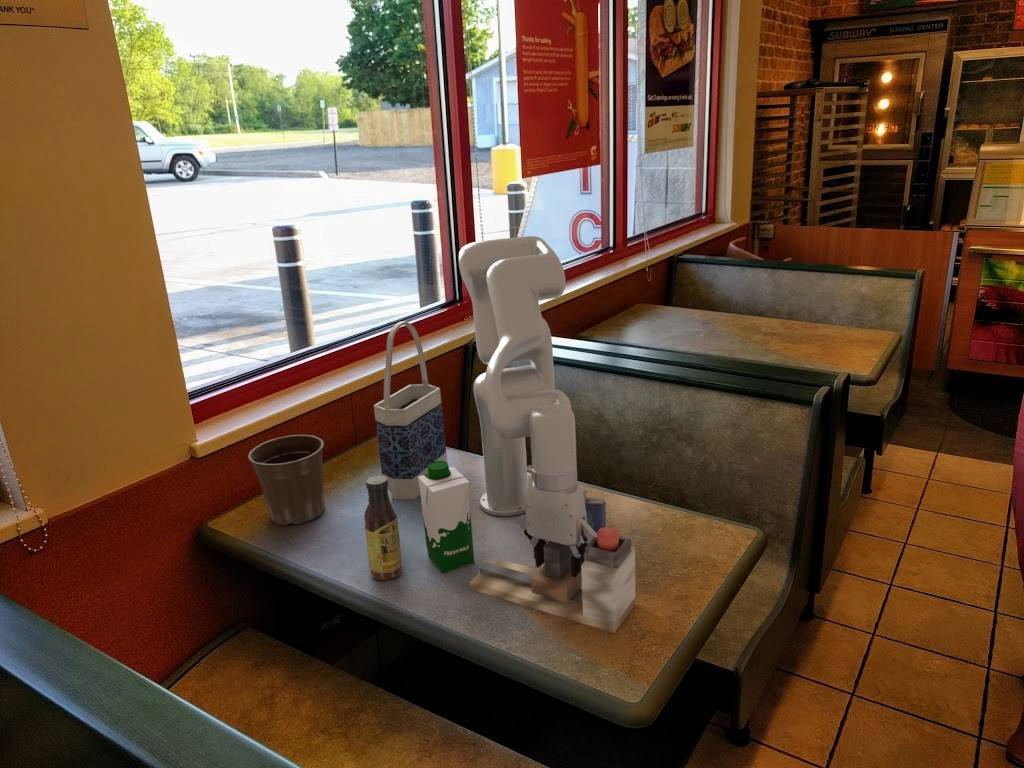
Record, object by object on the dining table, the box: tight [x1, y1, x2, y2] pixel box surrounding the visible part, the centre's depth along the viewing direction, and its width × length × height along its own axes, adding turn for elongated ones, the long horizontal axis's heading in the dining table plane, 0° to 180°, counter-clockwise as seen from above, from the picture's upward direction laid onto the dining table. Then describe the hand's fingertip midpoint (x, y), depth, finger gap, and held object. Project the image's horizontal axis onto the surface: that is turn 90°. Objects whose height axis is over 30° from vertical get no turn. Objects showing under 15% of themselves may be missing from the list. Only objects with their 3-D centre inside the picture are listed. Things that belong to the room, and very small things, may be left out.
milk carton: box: [418, 461, 475, 575], centre depth 148 cm, size 9×9×20 cm
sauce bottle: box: [363, 475, 403, 581], centre depth 146 cm, size 7×6×20 cm
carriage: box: [531, 541, 582, 603], centre depth 135 cm, size 7×8×9 cm
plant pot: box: [247, 434, 326, 526], centre depth 172 cm, size 16×16×16 cm
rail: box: [469, 535, 636, 634], centre depth 136 cm, size 29×9×14 cm, turn 59°
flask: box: [581, 489, 607, 542], centre depth 155 cm, size 9×3×11 cm, turn 68°
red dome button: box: [597, 526, 620, 552], centre depth 128 cm, size 4×4×3 cm
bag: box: [373, 320, 448, 500], centre depth 179 cm, size 18×9×40 cm, turn 153°
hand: (559, 567), depth 135 cm, fingers open, 6 cm apart
